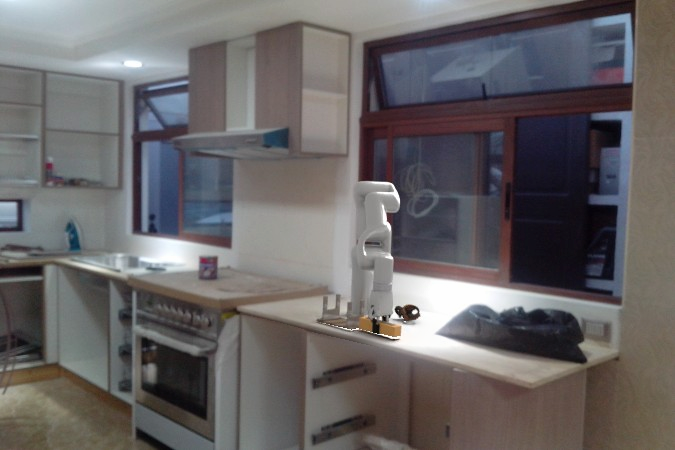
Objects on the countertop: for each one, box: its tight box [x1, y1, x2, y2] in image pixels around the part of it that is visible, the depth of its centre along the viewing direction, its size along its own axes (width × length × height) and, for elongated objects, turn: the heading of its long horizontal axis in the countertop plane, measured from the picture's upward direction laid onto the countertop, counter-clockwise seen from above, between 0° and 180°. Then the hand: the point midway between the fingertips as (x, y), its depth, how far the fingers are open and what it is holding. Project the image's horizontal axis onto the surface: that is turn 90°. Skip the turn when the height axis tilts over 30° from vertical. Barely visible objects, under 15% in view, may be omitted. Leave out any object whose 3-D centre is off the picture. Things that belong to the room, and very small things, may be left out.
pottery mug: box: [393, 303, 422, 322], centre depth 278 cm, size 12×10×8 cm
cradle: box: [316, 293, 365, 330], centre depth 264 cm, size 20×11×11 cm, turn 45°
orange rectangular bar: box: [359, 316, 402, 337], centre depth 250 cm, size 18×4×5 cm, turn 46°
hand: (379, 332), depth 250 cm, fingers closed on orange rectangular bar, 4 cm apart
